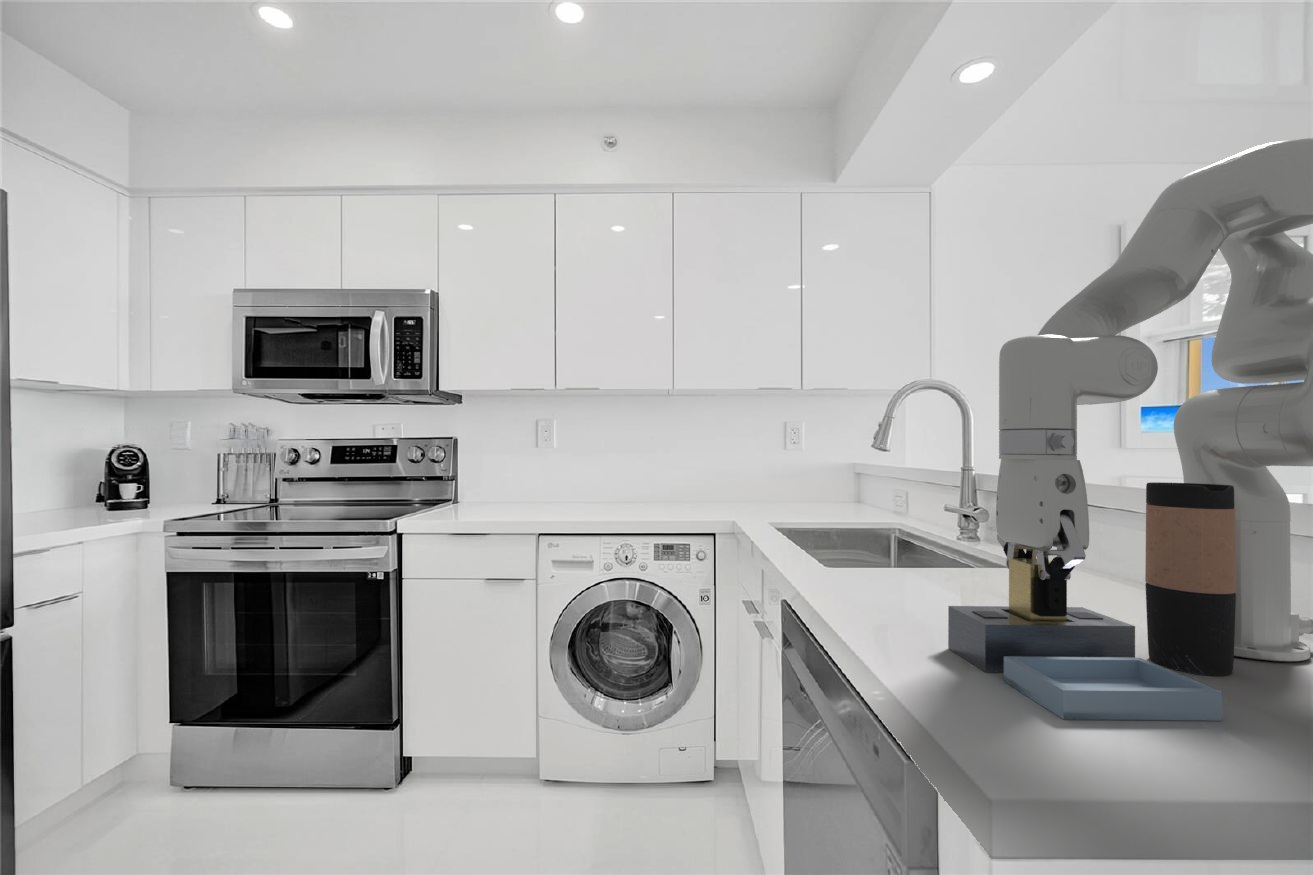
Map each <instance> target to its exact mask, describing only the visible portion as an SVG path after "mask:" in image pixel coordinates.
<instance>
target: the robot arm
mask: <svg viewBox="0 0 1313 875" xmlns="http://www.w3.org/2000/svg"><path fill="white" fill-rule="evenodd" d="M1312 224H1313V137H1308V138H1305V137H1304V138H1297V139H1289V140H1288V139H1287V140H1281V141H1275V142H1269V143H1265V144H1262V145H1257V146H1254V147H1251V148H1249V149H1246V150H1244V151H1242V152H1239V153H1237V154H1235V155H1232V156H1230V157H1227V158H1225V159H1223V160H1220V161H1218V162H1215V163H1213V164H1210V165H1208V166H1205V167H1203V168H1200V169H1197V170H1194V171H1192V172H1190V173H1188V174H1185V175H1184V176H1182V177H1180V178H1178V179H1176V180H1175V181H1174V182H1172V183H1171V184H1170V185H1168V186H1167V187H1166V188H1165V189H1164V190H1163V191H1162V192H1161V193H1160V194H1159V196H1158V197H1157V198H1156V200H1155V202H1154V203H1153V204H1152V205H1151V208H1150V209H1149V211H1148V212H1147V213H1146V215H1145V217H1144V218H1143V220H1142V221H1141V223H1140V224H1139V226H1138V228H1137V229H1136V231H1135V232H1134V234H1133V235H1132V237H1131V238H1130V240H1129V241H1128V243H1127V245H1126V246H1125V247H1124V248H1123V251H1122V252H1121V253H1120V255H1119V257H1118V259H1116V261H1115V262H1114V263H1113V265H1111V267H1110V268H1108V269H1107V270H1105V271H1104V272H1103V273H1101V274H1100V275H1099V276H1097V277H1096V278H1094V280H1093V281H1091V282H1090V283H1089V284H1088V285H1087V286H1085V287H1084V288H1083V289H1082V290H1081V291H1079V292H1078V293H1077V294H1076V295H1075V296H1073V297H1072V298H1070V300H1069V301H1067V302H1065V304H1064V305H1062V306H1061V307H1060V308H1059V309H1058V310H1057V311H1055V313H1054V314H1052V316H1051V317H1050V318H1049V319H1048V320H1047V321H1046V322H1045V323H1044V325H1043V326H1042V328H1040V330H1039V331H1038V333H1037V335H1027V336H1021V337H1016V338H1012V339H1010V340H1008V341H1006V342H1004V343H1003V344H1002V346H1001V348H1000V350H999V351H1000V352H999V357H998V358H999V360H998V373H999V374H998V390H999V391H998V430H999V431H998V459H999V460H1000V464H999V467H998V468H999V470H998V476H997V487H996V489H997V490H996V499H995V500H996V502H995V503H996V504H995V526H996V533H997V535H996V539H997V542H998V543H999V545H1000V546H1001V547H1002V549H1003V553H1004V554H1005V557H1006V561H1005V562H1006V564H1005V566H1006V568H1007V569H1008V570H1009V558H1020V559H1037V564H1038V573H1039V577H1040V578H1035V614H1036V615H1038V616H1047V617H1064V616H1066V614H1067V607H1068V603H1067V602H1068V587H1067V586H1068V581H1069V580H1070V579H1071V576H1072V574H1071V572H1072V571H1073V570H1074V569H1075V567H1076V566H1078V565H1079V564H1080V563H1082V562H1083V561H1084V560H1086V557H1087V556H1086V550H1087V549H1088V548H1089V546H1090V519H1089V506H1088V503H1089V502H1088V495H1087V487H1086V480H1085V476H1084V475H1085V474H1084V470H1083V467H1082V463H1081V460H1080V459H1078V406H1085V405H1086V406H1088V405H1090V406H1091V405H1101V404H1114V403H1122V402H1127V401H1129V400H1133V399H1134V398H1137V397H1139V396H1140V395H1142V394H1144V393H1145V392H1147V391H1148V390H1149V389H1150V388H1151V387H1152V386H1153V383H1154V382H1155V380H1156V378H1157V375H1158V371H1159V366H1158V360H1157V359H1158V358H1156V355H1155V353H1154V352H1153V350H1152V349H1151V348H1150V347H1149V345H1147V344H1146V343H1145V342H1143V341H1141V340H1139V339H1136V338H1133V337H1130V336H1125V335H1119V334H1120V333H1121V332H1123V331H1125V330H1127V329H1129V328H1131V327H1134V326H1136V325H1138V324H1141V323H1143V322H1145V321H1147V320H1149V319H1151V318H1153V317H1155V316H1157V315H1160V314H1161V313H1163V312H1165V311H1167V310H1169V309H1170V308H1172V307H1174V306H1175V305H1177V304H1179V303H1180V302H1182V301H1183V300H1185V299H1186V298H1188V296H1190V294H1191V293H1192V292H1193V291H1194V290H1195V288H1196V287H1197V285H1198V283H1199V281H1200V280H1201V278H1202V276H1203V275H1204V273H1205V272H1206V269H1208V267H1209V265H1210V263H1211V262H1212V260H1213V259H1214V257H1215V255H1216V254H1217V253H1218V251H1220V253H1221V254H1222V256H1223V258H1224V260H1225V262H1226V263H1227V266H1228V268H1229V271H1230V276H1231V277H1230V278H1231V279H1230V286H1229V291H1228V294H1227V298H1226V301H1225V305H1224V309H1223V311H1222V315H1221V318H1220V322H1219V325H1218V328H1217V332H1216V334H1215V338H1214V341H1213V345H1212V351H1211V365H1212V368H1213V371H1214V373H1215V374H1216V375H1217V376H1218V377H1220V378H1221V379H1223V380H1225V381H1228V382H1231V383H1236V384H1247V386H1235V387H1234V386H1233V387H1226V388H1225V387H1224V388H1218V389H1217V388H1216V389H1212V390H1208V391H1204V392H1201V393H1198V394H1196V395H1193V396H1191V397H1190V398H1188V399H1187V400H1185V401H1184V402H1183V403H1182V404H1181V405H1180V407H1179V408H1178V410H1177V411H1176V413H1175V415H1174V418H1173V419H1174V420H1173V435H1174V439H1175V444H1176V446H1177V451H1178V455H1179V458H1180V459H1179V460H1180V463H1181V470H1182V475H1183V477H1182V478H1183V483H1197V484H1219V485H1232V486H1233V487H1234V509H1235V560H1236V592H1235V593H1236V611H1235V639H1234V657H1240V658H1245V659H1253V660H1261V661H1271V662H1289V663H1290V662H1303V661H1306V660H1309V659H1310V658H1311V656H1312V655H1311V654H1312V652H1311V648H1310V646H1308V645H1307V644H1305V643H1304V642H1302V641H1300V637H1301V636H1303V635H1304V634H1308V635H1313V617H1311V616H1310V617H1308V616H1307V617H1300V614H1299V613H1294V612H1292V599H1291V598H1292V594H1291V593H1292V590H1291V589H1292V588H1291V587H1292V586H1291V585H1292V581H1291V576H1292V574H1291V573H1292V571H1291V568H1292V567H1291V506H1290V501H1289V499H1288V496H1287V493H1286V492H1285V489H1283V487H1282V486H1281V484H1280V483H1279V481H1278V480H1277V479H1276V478H1275V476H1274V475H1273V474H1272V473H1271V472H1270V470H1269V469H1268V467H1272V466H1273V467H1277V466H1278V467H1313V253H1312V252H1310V251H1309V250H1307V249H1306V248H1305V247H1303V246H1301V245H1300V244H1298V243H1297V242H1295V241H1294V240H1293V239H1292V238H1291V237H1289V236H1288V235H1287V234H1286V233H1285V232H1288V231H1292V230H1295V229H1299V228H1302V227H1305V226H1309V225H1312ZM1295 381H1297V382H1295ZM1299 381H1300V382H1299ZM1282 382H1283V383H1282ZM1284 382H1286V383H1284ZM1287 382H1288V383H1287ZM1289 382H1290V383H1289ZM1273 383H1274V384H1273ZM1249 384H1251V385H1249ZM1252 384H1253V385H1252ZM1255 384H1259V385H1255ZM1248 385H1249V386H1248ZM1053 547H1054V548H1056V549H1052V548H1053ZM1049 556H1050V557H1051V556H1055V557H1053V558H1052V560H1050V559H1049ZM1049 561H1051V562H1050V564H1049Z"/></svg>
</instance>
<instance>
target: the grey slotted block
mask: <svg viewBox="0 0 1313 875" xmlns="http://www.w3.org/2000/svg"><path fill="white" fill-rule="evenodd" d="M947 612H948V613H947V614H948V629H947V631H948V636H947V637H948V640H947V641H948V642H947V644H948V645H947V647H948V649H949V650H950V651H952V652H953V653H955V654H956V655H957V656H959V657H961V658H963V659H964V660H965V661H967V662H969V663H970V664H971V665H973V666H975V667H977V668H978V669H980V670H981V671H983V672H984V673H996V674H997V673H1000V674H1001V673H1003V674H1004V656H1022V657H1128V658H1136V626H1135V625H1133V624H1130V623H1128V622H1124V621H1122V620H1119V619H1116V618H1113V617H1111V616H1107V615H1104V614H1101V613H1100V612H1096V611H1093V610H1091V609H1088V608H1086V607H1082V606H1081V607H1080V606H1077V607H1076V606H1075V607H1074V606H1067V622H1028V621H1026V620H1023V619H1021V618H1019V617H1017V616H1014V615H1012V614H1010V613H1009V605H1008V606H1006V605H1004V606H998V605H997V606H994V605H993V606H992V605H991V606H989V605H986V606H985V605H948V611H947Z"/></svg>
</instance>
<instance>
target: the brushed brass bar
mask: <svg viewBox="0 0 1313 875" xmlns="http://www.w3.org/2000/svg"><path fill="white" fill-rule="evenodd" d="M1051 561H1052V560H1049V564H1050V562H1051ZM1035 578H1040V577H1039V573H1038V564H1037V558H1036V559H1020V558H1009V569H1008V606H1009V613H1010V614H1012V615H1014V616H1017V617H1019V618H1021V619H1023V620H1026V621H1028V622H1067V614H1066V616H1064V617H1047V616H1038V615H1036V614H1035Z"/></svg>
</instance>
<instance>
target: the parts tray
mask: <svg viewBox="0 0 1313 875" xmlns="http://www.w3.org/2000/svg"><path fill="white" fill-rule="evenodd" d="M1003 682H1004V683H1006V684H1007V685H1009V686H1011V687H1012V688H1014V690H1016V691H1018V692H1020V693H1021V694H1023V695H1025V696H1026V697H1027V698H1029V699H1031V700H1032V701H1033V702H1036V704H1039V705H1041V706H1042V707H1044V708H1045V709H1046V710H1048V711H1049V712H1051V713H1053V714H1054V715H1056V716H1057V717H1059V718H1060V719H1062V720H1078V721H1079V720H1085V721H1086V720H1087V721H1088V720H1090V721H1091V720H1096V721H1097V720H1101V721H1102V720H1105V721H1107V720H1112V721H1118V720H1119V721H1209V722H1210V721H1217V722H1218V721H1223V691H1221V690H1218V689H1216V688H1214V687H1211V686H1209V685H1206V684H1204V683H1202V682H1200V681H1198V680H1195V679H1192V678H1190V677H1189V676H1188V677H1187V676H1185V675H1182V674H1181V673H1178V672H1175V671H1174V670H1172V669H1170V668H1167V667H1164V666H1161V665H1159V664H1156V663H1154V662H1153V661H1149V660H1146V659H1145V658H1141V657H1135V658H1128V657H1022V656H1004V673H1003Z"/></svg>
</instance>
